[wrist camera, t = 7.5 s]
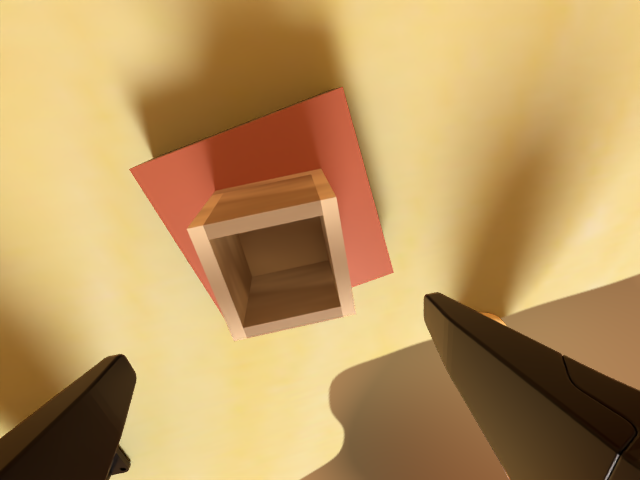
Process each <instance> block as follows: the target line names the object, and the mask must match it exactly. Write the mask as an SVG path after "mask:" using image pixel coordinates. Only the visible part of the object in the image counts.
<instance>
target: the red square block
mask: <svg viewBox="0 0 640 480" xmlns="http://www.w3.org/2000/svg"><path fill="white" fill-rule="evenodd" d="M316 169H322V171H323V173H324V175H325V177H326V178H327V180H328V182H329V184H330V186H331V188H332V190H333V192H334V193H335V195H336V198H337V204H338V210H339V216H340V222H341V228H342V234H343V239H344V245H345V251H346V257H347V263H348V269H349V275H350V281H351V287H354V286H357V285H360V284H363V283H366V282H368V281H371V280H374V279H377V278H380V277H382V276H385V275H388V274H391V273H394V272H393V269H392V265H391V261H390V258H389V254H388V250H387V247H386V243H385V239H384V236H383V232H382V228H381V225H380V221H379V218H378V214H377V210H376V207H375V203H374V199H373V196H372V192H371V188H370V185H369V181H368V178H367V174H366V170H365V167H364V163H363V159H362V156H361V152H360V148H359V145H358V141H357V137H356V134H355V130H354V127H353V123H352V119H351V116H350V112H349V108H348V105H347V101H346V97H345V94H344V90H343V87H341V88H336V89H332V90H329V91H327V92H324V93H322V94H319V95H316V96H314V97H311V98H309V99H306V100H303V101H301V102H298V103H296V104H293V105H290V106H288V107H285V108H283V109H280V110H277V111H275V112H272V113H270V114H267V115H265V116H262V117H259V118H257V119H254V120H252V121H249V122H246V123H244V124H241V125H239V126H236V127H233V128H231V129H228V130H226V131H223V132H220V133H218V134H215V135H213V136H210V137H207V138H205V139H202V140H200V141H197V142H194V143H192V144H189V145H187V146H184V147H181V148H179V149H176V150H174V151H171V152H169V153H166V154H163V155H161V156H158V157H156V158H153V159H151V160H149V161H146V162H144V163H142V164H140V165H138V166H135V167H133V168H131V169H129V170H130V171H131V173H132V174H133V176H134V178H135V179H136V181H137V182H138V184H139V185H140V187H141V188H142V190H143V192H144V193H145V195H146V196H147V198H148V199H149V201H150V203H151V204H152V206H153V207H154V209H155V210H156V212H157V214H158V215H159V217H160V218H161V220H162V221H163V223H164V224H165V226H166V228H167V229H168V231H169V232H170V234H171V235H172V237H173V239H174V240H175V242H176V243H177V245H178V246H179V248H180V250H181V251H182V253H183V254H184V256H185V257H186V259H187V260H188V262H189V264H190V265H191V267H192V268H193V270H194V271H195V273H196V275H197V276H198V278H199V279H200V281H201V282H202V284H203V285H204V287H205V289H206V290H207V292H208V293H209V295H210V296H211V298H212V300H213V301H214V303H215V304H216V306H217V307H218V309H219V311H220V312H221V309H220V307H219V304H218V302H217V300H216V297H215V295H214V293H213V290H212V288H211V285H210V283H209V281H208V278H207V276H206V274H205V271H204V269H203V266H202V264H201V262H200V259H199V257H198V255H197V252H196V250H195V247H194V245H193V243H192V240H191V238H190V236H189V233H188V231H187V228H188V227H189V225H190V224H191V222H192V221H193V220H194V218H195V217H196V216H197V214H198V213H199V212H200V210H201V209H202V208H203V206H204V205H205V204H206V202H207V201H208V200H209V198H210V197H211V196H212V194H213V193H214V192H215V191H217V190H222V189H226V188H231V187H236V186H241V185H245V184H250V183H255V182H260V181H264V180H269V179H274V178H278V177H283V176H288V175H293V174H297V173H302V172H307V171H312V170H316ZM221 314H222V312H221ZM222 315H223V314H222ZM223 317H224V316H223Z"/></svg>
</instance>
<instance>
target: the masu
mask: <svg viewBox="0 0 640 480" xmlns="http://www.w3.org/2000/svg"><path fill="white" fill-rule="evenodd" d="M187 231H188V233H189V236H190V238H191V240H192V243H193V245H194V247H195V250H196V252H197V255H198V257H199V259H200V262H201V264H202V266H203V269H204V271H205V274H206V276H207V278H208V281H209V283H210V285H211V288H212V290H213V293H214V295H215V297H216V300H217V302H218V304H219V307H220V309H221V312H222V314H223V316H224V319H225V321H226V323H227V326H228V328H229V331H230V333H231V335H232V338H233V340H234V341H237V340H241V339H246V338H250V337H255V336H259V335H264V334H268V333H273V332H277V331H282V330H286V329H291V328H295V327H300V326H304V325H309V324H314V323H318V322H323V321H327V320H332V319H336V318H341V317H345V316H350V315H354V314H356V311H355V305H354V299H353V293H352V287H351V281H350V275H349V269H348V263H347V257H346V251H345V245H344V239H343V234H342V228H341V222H340V216H339V210H338V204H337V198H336V195H335V193H334V192H333V190H332V188H331V186H330V184H329V182H328V180H327V178H326V177H325V175H324V173H323V171H322V169H316V170H312V171H307V172H302V173H297V174H293V175H288V176H283V177H278V178H274V179H269V180H264V181H260V182H255V183H250V184H245V185H241V186H236V187H231V188H226V189H222V190H217V191H215V192H214V193H213V194H212V196H211V197H210V198H209V200H208V201H207V202H206V204H205V205H204V206H203V208H202V209H201V210H200V212H199V213H198V214H197V216H196V217H195V218H194V220H193V221H192V222H191V224H190V225H189V227H188V228H187Z"/></svg>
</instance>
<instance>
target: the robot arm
mask: <svg viewBox="0 0 640 480" xmlns="http://www.w3.org/2000/svg"><path fill="white" fill-rule="evenodd" d="M424 320H425V323H426V326H427V328H428V330H429V332H430V335H431V337H432V339H433V341H434V344H435V345H436V348H437V350H438V352H439V354H440V357H441V359H442V361H443V364H444V366H445V368H446V370H447V372H448V374H449V375H450V377H451V379H452V381H453V382H454V384H455V385H456V387H457V389H458V391H459V392H460V394H461V396H462V397H463V399H464V401H465V403H466V404H467V406H468V408H469V410H470V411H471V413H472V415H473V416H474V418H475V420H476V422H477V423H478V425H479V427H480V428H481V430H482V432H483V434H484V435H485V437H486V439H487V441H488V442H489V444H490V446H491V447H492V449H493V451H494V452H495V454H496V456H497V457H498V459H499V461H500V463H501V464H502V466H503V468H504V470H505V471H506V473H507V475H508V476H509V478H510V480H640V390H637V389H635V388H633V387H631V386H628V385H626V384H624V383H622V382H619V381H617V380H615V379H613V378H610V377H608V376H606V375H604V374H602V373H600V372H598V371H596V370H594V369H592V368H589V367H587V366H585V365H583V364H581V363H579V362H577V361H575V360H573V359H571V358H569V357H567V356H565V355H563V356H562V355H561V353H559V352H557V351H555V350H553V349H551V348H549V347H547V346H545V345H543V344H541V343H539V342H537V341H535V340H533V339H531V338H529V337H527V336H525V335H523V334H521V333H519V332H517V331H515V330H513V329H511V328H509V327H507V326H505V325H503V324H501V323H499V322H497V321H495V320H493V319H491V318H489V317H487V316H485V315H483V314H481V313H479V312H477V311H475V310H473V309H471V308H469V307H467V306H465V305H463V304H461V303H459V302H457V301H455V300H453V299H451V298H449V297H447V296H445V295H443V294H441V293H438V292H436V293H430V294H426V295H425V296H424ZM135 384H136V373H135V371H134V369H133V368H132V366H131V364H130V363H129V361H128V360H127V358H126V357H125V356H124V355H123V354H118V355H113V356H108V357H106V358H104V359H103V360H102V361H101V362H99V363H98V364H97V365H95V366H94V367H93V368H91V369H90V370H89V371H88V372H86V373H85V374H84V375H82V376H81V377H80V378H78V379H77V380H76V381H74V382H73V383H72V384H71V385H69V386H68V387H67V388H65V389H64V390H63V391H61V392H60V393H59V394H58V395H56V396H55V397H54V398H52V399H51V400H50V401H48V402H47V403H46V404H45V405H43V406H42V407H41V408H39V409H38V410H37V411H35V412H34V413H33V414H32V415H30V416H29V417H28V418H26V419H25V420H24V421H22V422H21V423H20V424H19V425H17V426H16V427H15V428H13V429H12V430H11V431H9V432H8V433H7V434H5V435H4V436H3V437H2V438H0V480H109V479H110V477H111V475H115V474H119V473H124V472H127V471H128V470H129V468H130V465H131V464H130V462H129V461H128V460H127V458H126V457H125V456H124V454H123V453H122V452H121V451H120V449H119V448H118V444H119V441H120V439H121V436H122V432H123V429H124V425H125V422H126V418H127V414H128V410H129V406H130V403H131V399H132V395H133V391H134V388H135Z"/></svg>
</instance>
